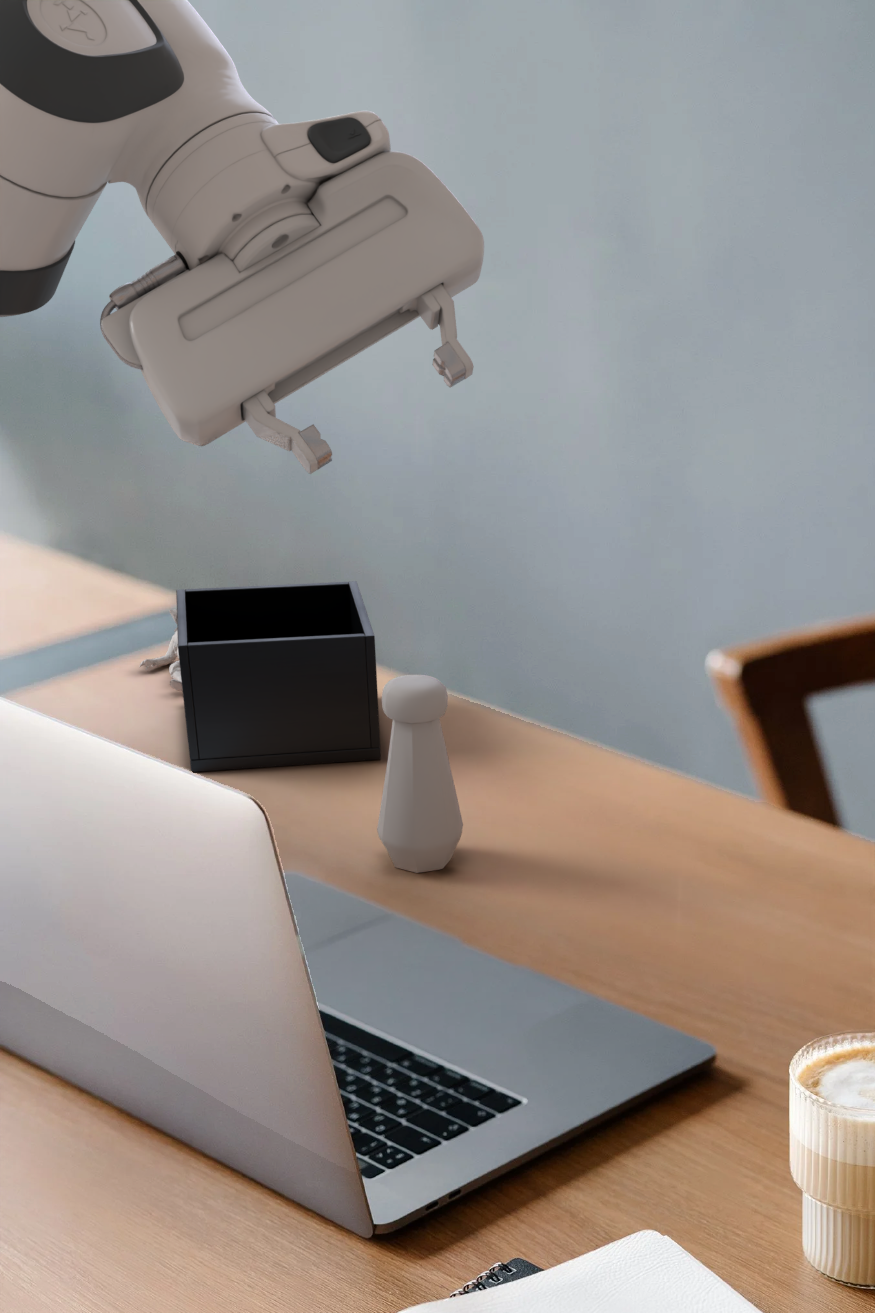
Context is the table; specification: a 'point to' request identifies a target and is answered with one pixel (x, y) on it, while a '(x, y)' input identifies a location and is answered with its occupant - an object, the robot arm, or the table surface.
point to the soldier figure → (169, 659)
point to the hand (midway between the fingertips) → (392, 420)
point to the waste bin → (277, 675)
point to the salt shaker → (418, 778)
